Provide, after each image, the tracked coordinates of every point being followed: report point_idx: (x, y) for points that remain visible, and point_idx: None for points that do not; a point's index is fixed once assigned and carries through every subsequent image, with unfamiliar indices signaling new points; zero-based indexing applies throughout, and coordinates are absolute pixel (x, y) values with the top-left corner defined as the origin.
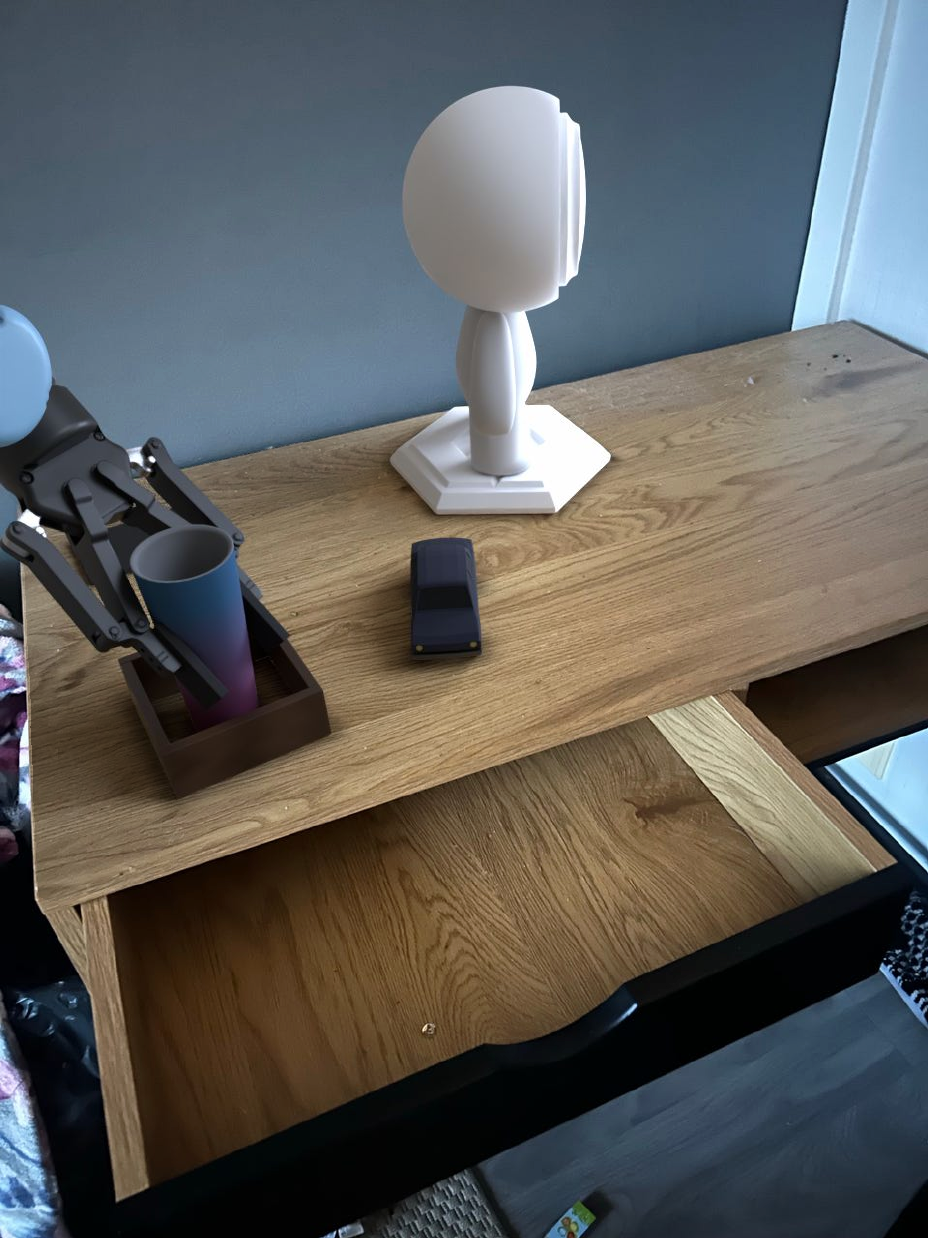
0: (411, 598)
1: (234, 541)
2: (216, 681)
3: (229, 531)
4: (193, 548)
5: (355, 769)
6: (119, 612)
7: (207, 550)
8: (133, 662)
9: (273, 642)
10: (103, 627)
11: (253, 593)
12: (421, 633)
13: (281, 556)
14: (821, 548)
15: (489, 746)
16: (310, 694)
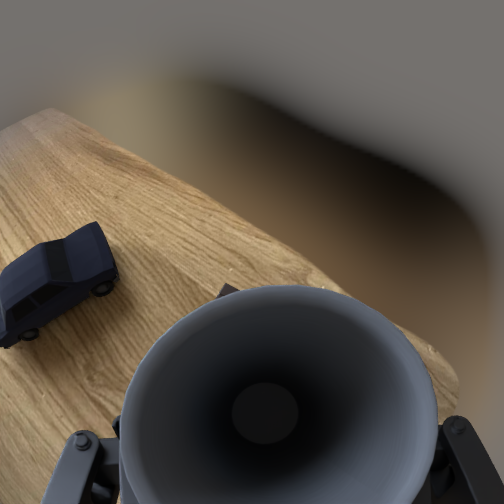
0: (56, 302)
1: (95, 443)
2: None
3: (80, 458)
4: (184, 490)
5: (256, 262)
6: None
7: (169, 457)
8: None
9: None
10: (472, 435)
11: None
12: (99, 264)
13: (41, 485)
14: (9, 145)
15: (188, 193)
16: (238, 290)
